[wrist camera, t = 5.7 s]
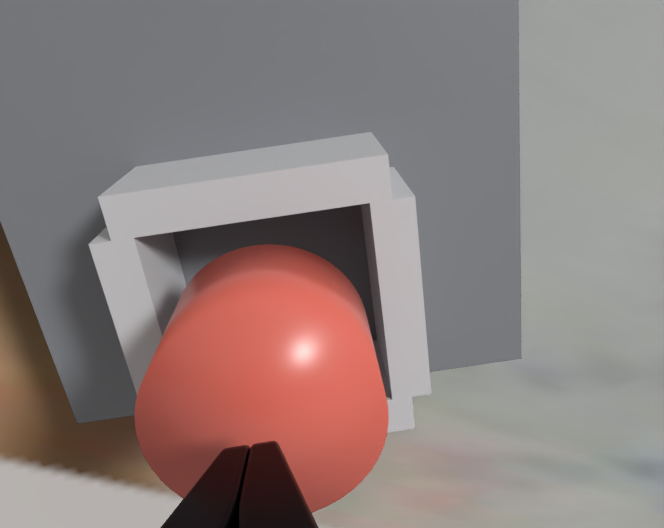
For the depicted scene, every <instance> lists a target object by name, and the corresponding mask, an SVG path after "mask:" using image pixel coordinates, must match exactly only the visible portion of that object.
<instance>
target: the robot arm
mask: <svg viewBox="0 0 664 528" xmlns="http://www.w3.org/2000/svg"><path fill="white" fill-rule="evenodd" d="M161 528H318V526H317V524H316V522H315V520H314V517H313V515H312V513H311V511H310V509H309V507H308V505H307V503H306V501H305V498H304V496H303V494H302V492H301V490H300V488H299V486H298V484H297V482H296V479H295V477H294V475H293V473H292V471H291V469H290V467H289V465H288V463H287V460H286V458H285V456H284V454H283V452H282V450H281V448H280V446H279V444H278V442H276V441H268V442H261V443H255V444H253V445H252V446H251V447H250V446H248V445H241V446H235V447H228V448H225V449H223V450H222V451H221V452H220V453H219V455H218V456H217V457H216V458H215V460H214V461H213V462H212V463H211V465H210V466H209V467H208V469H207V470H206V471H205V472H204V474H203V475H202V476H201V477H200V479H199V480H198V481H197V482H196V484H195V485H194V486H193V487H192V489H191V490H190V491H189V493H188V494H187V495H186V496H185V498H184V499H183V500H182V501H181V503H180V504H179V505H178V507H177V508H176V509H175V510H174V512H173V513H172V514H171V515H170V517H169V518H168V519H167V520H166V522H165V523H164V524H163V525H162V527H161Z"/></svg>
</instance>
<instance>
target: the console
mask: <svg viewBox="0 0 664 528" xmlns="http://www.w3.org/2000/svg"><path fill="white" fill-rule="evenodd" d="M0 222H1V224H2V227H3V229H4V232H5V235H6V237H7V240H8V243H9V245H10V248H11V251H12V253H13V256H14V258H15V261H16V264H17V266H18V269H19V272H20V274H21V277H22V279H23V282H24V285H25V287H26V290H27V293H28V295H29V298H30V300H31V303H32V306H33V308H34V311H35V314H36V316H37V319H38V322H39V324H40V327H41V329H42V332H43V335H44V337H45V340H46V343H47V345H48V348H49V350H50V353H51V356H52V358H53V361H54V364H55V366H56V369H57V371H58V374H59V377H60V379H61V382H62V385H63V387H64V390H65V393H66V395H67V398H68V400H69V403H70V406H71V408H72V411H73V414H74V416H75V419H76V421H77V424H79V423H86V422H93V421H99V420H106V419H113V418H120V417H127V416H134V415H135V403H136V399H137V395H138V391H139V388H140V385H141V383H142V381H143V378H144V376H145V374H146V371H147V369H148V367H149V365H150V363H151V360H152V358H153V356H154V354H155V352H156V349H157V347H158V345H159V343H160V341H161V338H162V336H163V334H164V332H165V330H166V327H167V325H168V323H169V321H170V319H171V316H172V314H173V312H174V310H175V308H176V305H177V303H178V301H179V299H180V297H181V294H182V293H183V291H184V289H185V288H186V286H187V284H188V283H189V282H190V281H191V279H192V278H193V277H194V276H195V275H196V274H197V273H198V272H199V271H200V270H201V269H202V268H203V267H204V266H206V265H207V264H208V263H210V262H211V261H213V260H214V259H216V258H218V257H220V256H222V255H224V254H226V253H228V252H231V251H234V250H237V249H239V248H244V247H248V246H253V245H264V244H274V245H285V246H291V247H296V248H299V249H303V250H306V251H309V252H311V253H313V254H316V255H318V256H320V257H322V258H323V259H325V260H327V261H328V262H330V263H331V264H333V265H334V266H335V267H336V268H338V269H339V270H340V271H341V272H342V273H343V274H344V275H345V276H346V277H347V278H348V279H349V280H350V282H351V283H352V284H353V286H354V287H355V288H356V290H357V292H358V294H359V296H360V298H361V300H362V302H363V305H364V308H365V311H366V315H367V319H368V323H369V327H370V332H371V336H372V340H373V344H374V348H375V352H376V356H377V361H378V365H379V369H380V373H381V377H382V381H383V385H384V389H385V394H386V399H387V403H388V414H389V423H388V431H387V433H388V432H395V431H402V430H409V429H415V423H414V413H413V403H412V397H414V396H420V395H427V394H431V382H430V372H433V371H440V370H446V369H453V368H460V367H467V366H474V365H480V364H487V363H494V362H501V361H508V360H514V359H521V253H520V133H519V14H518V0H0Z"/></svg>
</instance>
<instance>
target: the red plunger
mask: <svg viewBox="0 0 664 528" xmlns="http://www.w3.org/2000/svg"><path fill="white" fill-rule="evenodd" d="M134 418H135V430H136V434H137V438H138V442H139V445H140V448H141V450H142V452H143V455H144V457H145V459H146V460H147V462H148V464H149V465H150V467H151V469H152V470H153V471H154V472H155V473H156V475H157V476H158V477H159V478H160V480H161V481H162V482H164V483H165V484H166V485H167V486H168V487H169V488H170V489H171V490H172V491H174V492H175V493H176V494H178V495H179V496H180V497H182V498H183V499H184V498H185V496H186V495H187V494H188V493H189V491H190V490H191V489H192V487H193V486H194V485H195V484H196V482H197V481H198V480H199V479H200V477H201V476H202V475H203V474H204V472H205V471H206V470H207V469H208V467H209V466H210V465H211V463H212V462H213V461H214V460H215V458H216V457H217V456H218V455H219V453H220V452H221V451H222V450H223V449H225V448H228V447H235V446H241V445H248V446H250V447H251V446H252V445H253V444H255V443H261V442H268V441H276V442H278V444H279V446H280V448H281V450H282V452H283V454H284V456H285V458H286V460H287V463H288V465H289V467H290V469H291V471H292V473H293V475H294V477H295V479H296V482H297V484H298V486H299V488H300V490H301V492H302V494H303V496H304V498H305V501H306V503H307V505H308V507H309V509H310V511H311V513H312V512H315V511H317V510H319V509H322V508H324V507H326V506H328V505H330V504H332V503H334V502H336V501H337V500H339V499H341V498H342V497H343V496H345V495H346V494H348V493H349V492H350V491H352V490H353V489H354V488H355V487H356V486H357V485H358V484H359V483H360V482H362V480H363V479H364V478H365V477H366V476H367V474H368V473H369V472H370V471H371V469H372V468H373V466H374V465H375V463H376V462H377V460H378V458H379V456H380V454H381V451H382V449H383V447H384V444H385V440H386V436H387V431H388V423H389V414H388V403H387V399H386V394H385V389H384V385H383V381H382V377H381V373H380V369H379V365H378V361H377V356H376V352H375V348H374V344H373V340H372V336H371V332H370V327H369V323H368V319H367V315H366V311H365V308H364V305H363V302H362V300H361V298H360V296H359V294H358V292H357V290H356V288H355V287H354V286H353V284H352V283H351V282H350V280H349V279H348V278H347V277H346V276H345V275H344V274H343V273H342V272H341V271H340V270H339V269H338V268H336V267H335V266H334V265H333V264H331V263H330V262H328V261H327V260H325V259H323V258H322V257H320V256H318V255H316V254H313V253H311V252H309V251H306V250H303V249H299V248H296V247H291V246H285V245H274V244H264V245H253V246H248V247H244V248H239V249H237V250H234V251H231V252H228V253H226V254H224V255H222V256H220V257H218V258H216V259H214V260H213V261H211V262H210V263H208V264H207V265H206V266H204V267H203V268H202V269H201V270H200V271H199V272H198V273H197V274H196V275H195V276H194V277H193V278H192V279H191V281H190V282H189V283H188V284H187V286H186V288H185V289H184V291H183V293H182V294H181V297H180V299H179V301H178V303H177V305H176V308H175V310H174V312H173V314H172V316H171V319H170V321H169V323H168V325H167V327H166V330H165V332H164V334H163V336H162V338H161V341H160V343H159V345H158V347H157V349H156V352H155V354H154V356H153V358H152V360H151V363H150V365H149V367H148V369H147V371H146V374H145V376H144V378H143V381H142V383H141V385H140V388H139V391H138V395H137V399H136V403H135V415H134Z"/></svg>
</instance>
